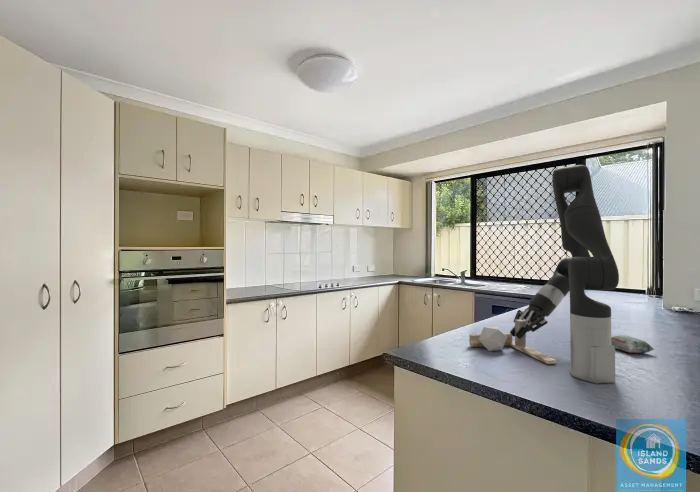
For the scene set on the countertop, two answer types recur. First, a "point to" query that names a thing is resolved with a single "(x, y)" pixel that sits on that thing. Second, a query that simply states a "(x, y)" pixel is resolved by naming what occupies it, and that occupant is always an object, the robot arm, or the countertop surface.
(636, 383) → the countertop surface
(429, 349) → the countertop surface
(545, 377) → the countertop surface
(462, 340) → the countertop surface
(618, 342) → the packaged food
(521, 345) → the l-shaped corner bracket
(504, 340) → the die
